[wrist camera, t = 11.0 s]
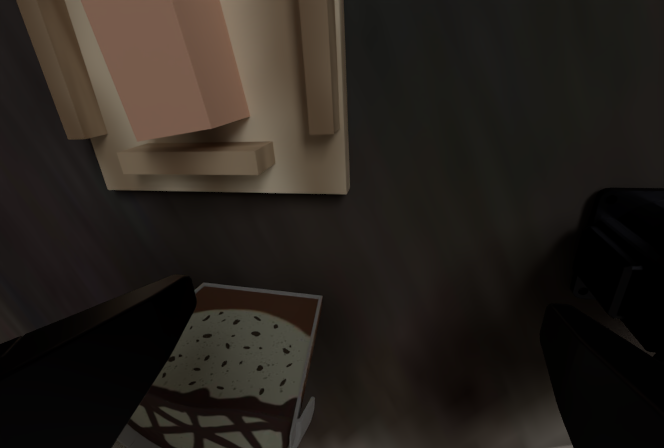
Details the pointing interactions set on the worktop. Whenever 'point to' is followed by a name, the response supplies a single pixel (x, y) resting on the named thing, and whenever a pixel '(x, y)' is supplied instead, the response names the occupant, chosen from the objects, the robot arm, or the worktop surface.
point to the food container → (233, 374)
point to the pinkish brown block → (169, 64)
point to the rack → (227, 140)
